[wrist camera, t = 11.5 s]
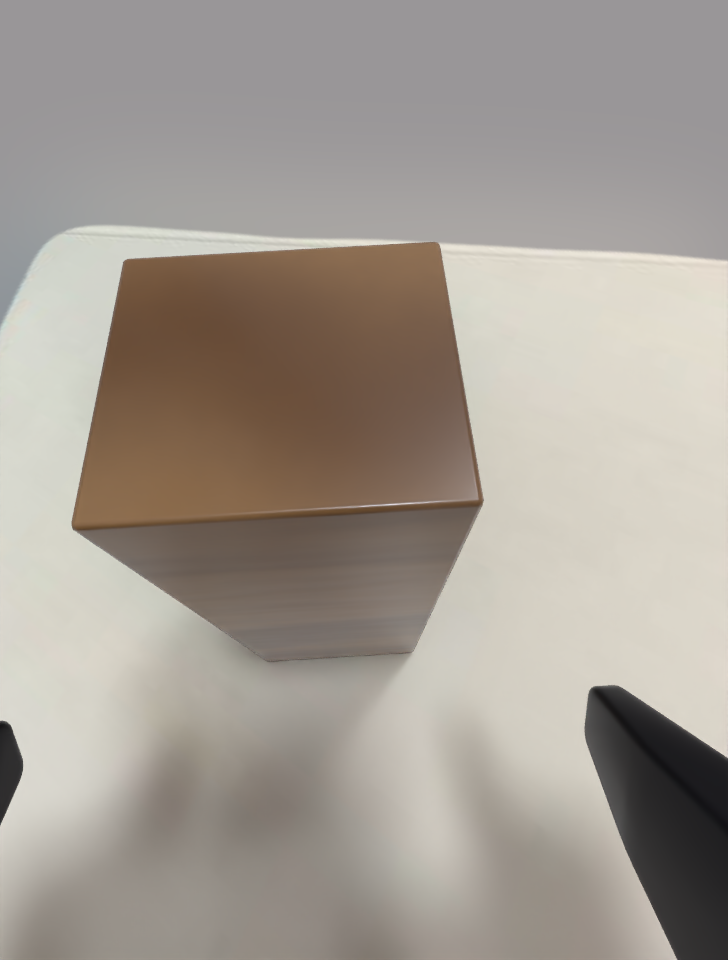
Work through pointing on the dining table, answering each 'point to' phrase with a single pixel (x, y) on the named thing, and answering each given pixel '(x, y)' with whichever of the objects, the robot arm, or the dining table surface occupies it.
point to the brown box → (286, 443)
